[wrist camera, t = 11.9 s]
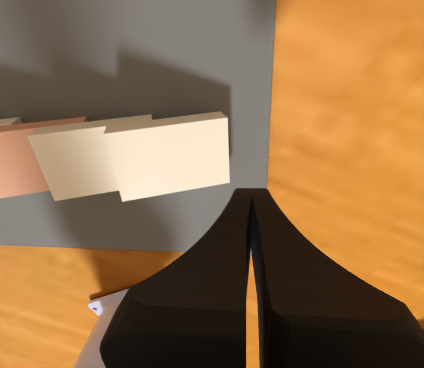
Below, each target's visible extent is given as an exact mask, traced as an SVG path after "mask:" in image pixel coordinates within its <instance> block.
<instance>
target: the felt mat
mask: <svg viewBox="0 0 424 368" xmlns="http://www.w3.org/2000/svg"><path fill="white" fill-rule="evenodd" d="M275 9H276V0H0V119H7V118H16V117H20V118H21V120H22V122H23V123H32V122H41V121H50V120H59V119H68V118H77V117H86V116H87V118H88V122H90V121H98V120H107V119H115V118H124V117H132V116H140V115H149V114H151V115H152V120H155V119H163V118H171V117H179V116H187V115H195V114H203V113H211V112H219V111H221V112H222V113H223V114H224V115H225V116H226V117H228V144H229V174H230V183H225V184H220V185H214V186H208V187H203V188H197V189H191V190H186V191H180V192H175V193H169V194H163V195H158V196H152V197H146V198H141V199H135V200H129V201H124V202H122V199H121V195H120V192H119V191H113V192H107V193H101V194H95V195H89V196H83V197H77V198H71V199H65V200H59V201H54V198H53V196H52V194H51V191H45V192H39V193H32V194H25V195H19V196H12V197H6V198H0V245H11V246H36V247H61V248H86V249H112V250H137V251H162V252H186V251H187V250H188V249H190V248H191V247H192V246H193V245H194V244H195V243H196V242H197V241H198V240H199V239H200V238H201V237H202V236H203V235H204V234H205V233H206V232H207V231H208V229H209V228H210V227H211V226H212V225H213V223H214V222H215V221H216V220H217V218H218V217H219V216H220V214H221V213H222V211H223V210H224V208H225V207H226V205H227V203H228V202H229V200H230V198H231V196H232V194H233V191H234V190H235V189H236V188H266V187H267V167H268V147H269V128H270V108H271V88H272V68H273V49H274V29H275ZM250 255H252V252H250Z"/></svg>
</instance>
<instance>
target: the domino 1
mask: <svg viewBox="0 0 424 368" xmlns="http://www.w3.org/2000/svg"><path fill="white" fill-rule="evenodd" d="M81 122H88V118H87V116H86V117H77V118H68V119H59V120H50V121H41V122H32V123H23V124H14V125H5V126H0V198H6V197H12V196H19V195H25V194H32V193H39V192H45V191H50V189H49V187H48V184H47V182H46V180H45V177H44V175H43V173H42V170H41V168H40V166H39V163H38V161H37V159H36V156H35V154H34V152H33V149H32V147H31V145H30V142H29V140H28V138H27V135H29V134H30V133H31V132H32V131H33V130H34V129H36V128H39V127H48V126H56V125H65V124H73V123H81Z"/></svg>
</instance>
